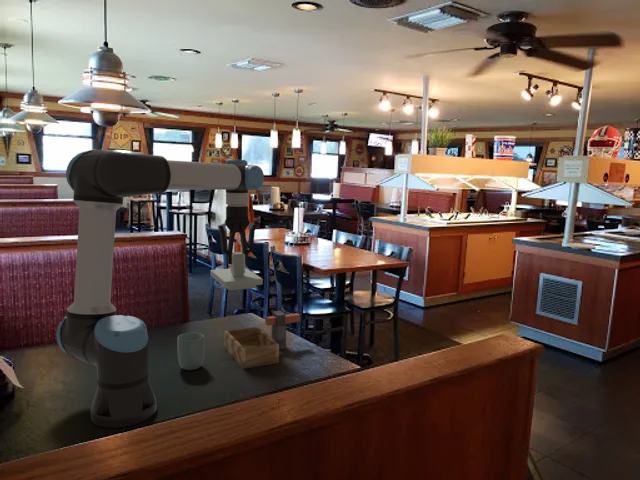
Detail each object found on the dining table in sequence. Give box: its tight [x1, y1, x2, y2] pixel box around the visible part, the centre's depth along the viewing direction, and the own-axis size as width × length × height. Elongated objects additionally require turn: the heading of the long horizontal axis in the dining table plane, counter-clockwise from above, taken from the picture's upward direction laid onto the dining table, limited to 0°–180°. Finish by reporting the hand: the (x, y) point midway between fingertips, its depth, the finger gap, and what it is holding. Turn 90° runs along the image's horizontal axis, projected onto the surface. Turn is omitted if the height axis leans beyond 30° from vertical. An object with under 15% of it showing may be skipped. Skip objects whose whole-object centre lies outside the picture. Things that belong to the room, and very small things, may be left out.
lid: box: [210, 251, 264, 291], centre depth 172 cm, size 21×13×12 cm, turn 25°
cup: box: [176, 332, 205, 371], centre depth 149 cm, size 8×8×10 cm
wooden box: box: [223, 310, 287, 370], centre depth 162 cm, size 20×19×12 cm
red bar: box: [264, 312, 301, 326], centre depth 169 cm, size 2×12×2 cm, turn 117°
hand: (237, 272), depth 169 cm, fingers closed on lid, 3 cm apart
